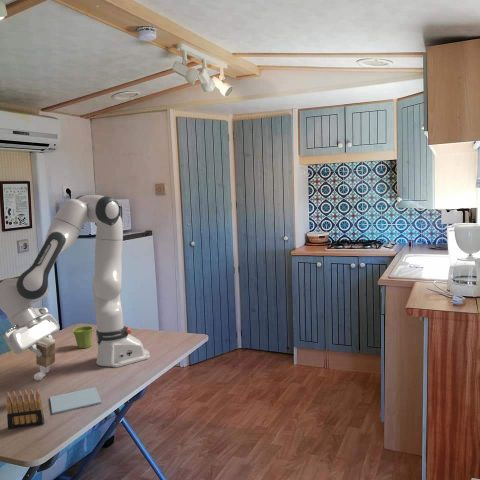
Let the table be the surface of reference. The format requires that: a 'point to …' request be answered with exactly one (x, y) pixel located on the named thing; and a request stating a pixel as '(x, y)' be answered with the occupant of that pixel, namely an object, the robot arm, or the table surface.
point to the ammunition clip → (21, 416)
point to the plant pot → (83, 336)
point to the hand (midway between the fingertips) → (47, 351)
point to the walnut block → (46, 352)
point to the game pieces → (41, 373)
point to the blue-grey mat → (74, 400)
